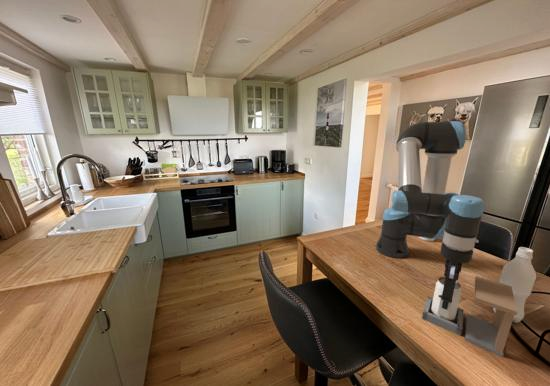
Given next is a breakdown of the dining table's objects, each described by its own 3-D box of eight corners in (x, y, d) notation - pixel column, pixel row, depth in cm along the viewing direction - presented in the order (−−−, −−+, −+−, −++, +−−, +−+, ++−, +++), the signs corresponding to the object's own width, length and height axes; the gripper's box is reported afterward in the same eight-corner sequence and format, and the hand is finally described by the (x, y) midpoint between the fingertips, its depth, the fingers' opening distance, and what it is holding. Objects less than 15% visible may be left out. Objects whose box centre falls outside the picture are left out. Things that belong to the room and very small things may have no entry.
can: (459, 322, 70) (467, 290, 67) (436, 319, 71) (443, 288, 68) (448, 307, 76) (455, 277, 73) (427, 305, 78) (433, 275, 74)
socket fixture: (421, 321, 73) (428, 281, 69) (427, 299, 82) (434, 263, 78) (502, 358, 60) (517, 311, 57) (499, 327, 70) (511, 286, 66)
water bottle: (485, 309, 77) (502, 244, 71) (503, 307, 78) (522, 243, 71) (507, 326, 70) (529, 256, 64) (528, 324, 71) (551, 254, 65)
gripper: (473, 264, 58) (456, 334, 64) (473, 238, 72) (459, 298, 78) (438, 254, 63) (425, 320, 69) (445, 232, 77) (434, 288, 83)
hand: (443, 308), depth 73 cm, fingers closed on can, 6 cm apart
